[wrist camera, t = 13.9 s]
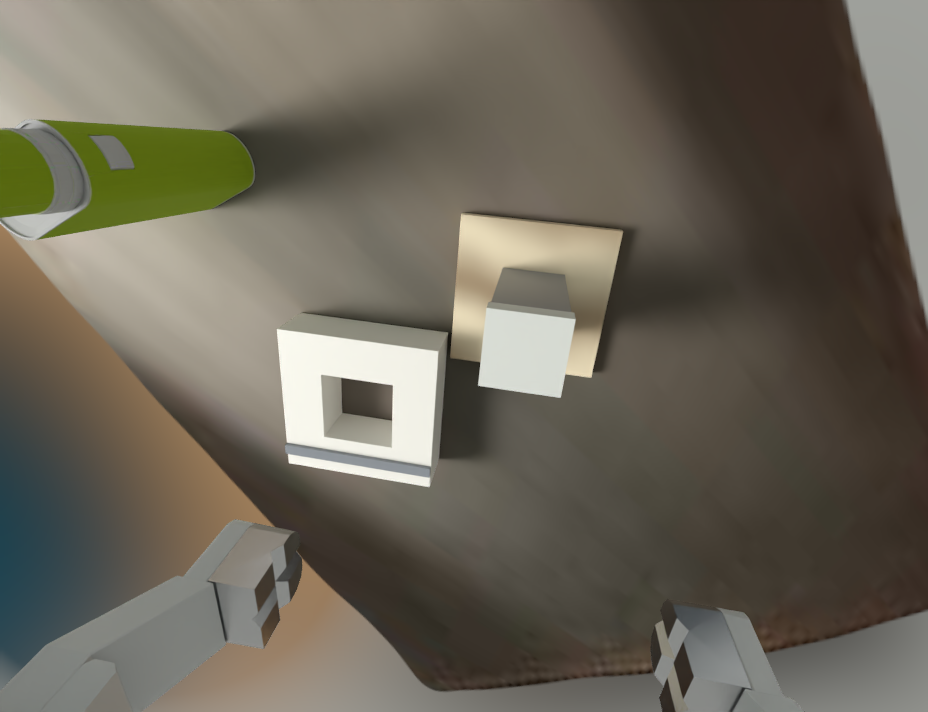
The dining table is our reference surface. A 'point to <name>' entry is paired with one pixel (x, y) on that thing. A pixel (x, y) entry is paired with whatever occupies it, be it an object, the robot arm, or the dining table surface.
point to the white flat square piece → (373, 360)
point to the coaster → (535, 249)
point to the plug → (527, 333)
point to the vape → (112, 175)
